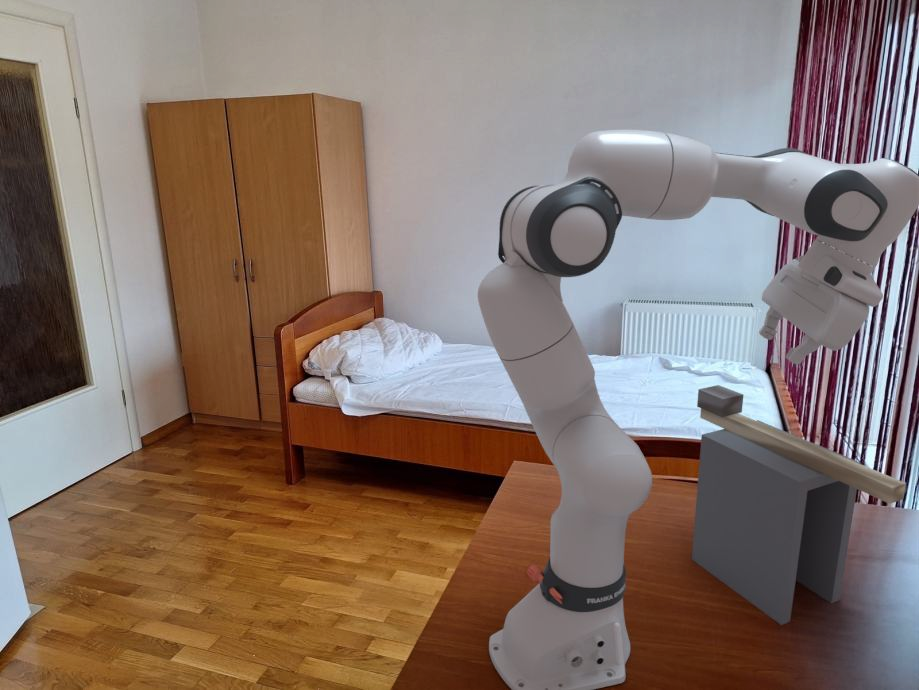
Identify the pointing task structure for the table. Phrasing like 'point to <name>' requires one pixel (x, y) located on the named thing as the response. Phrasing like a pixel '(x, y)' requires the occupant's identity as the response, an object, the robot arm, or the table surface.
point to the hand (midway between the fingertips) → (777, 348)
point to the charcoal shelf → (769, 523)
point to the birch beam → (794, 445)
